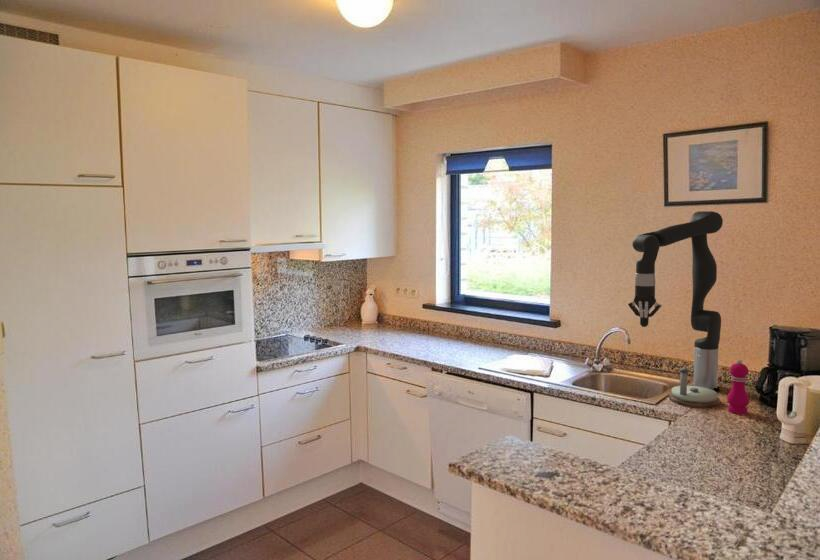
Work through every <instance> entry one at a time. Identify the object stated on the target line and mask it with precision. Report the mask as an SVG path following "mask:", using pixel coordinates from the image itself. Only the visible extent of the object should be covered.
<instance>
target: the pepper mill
mask: <svg viewBox="0 0 820 560" xmlns="http://www.w3.org/2000/svg"><path fill="white" fill-rule="evenodd" d="M729 371H730V372H729V373H730V374H731V376H730V379H731V381H732V386H731V388H730V390H729V392H728V394H727V397H726V400H727V403H728V404H729V405H727V406H728V407H727V410H728V412H729V413H731V414H735V415H746V414H747V413H748V405H749V404H750V397H749V395H748V393H747V390H746V388H745V387H746V382H747V376H748V374H749V368H748V366H747V365H746V364H744V363H743V360H742V359H737V360H736V363H733V364H731V366H730V368H729Z"/></svg>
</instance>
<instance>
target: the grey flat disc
mask: <svg viewBox="0 0 820 560" xmlns="http://www.w3.org/2000/svg"><path fill="white" fill-rule="evenodd" d="M668 395H669V396H668V399H669V401H671V402H672V403H673V404H676V405H680V406H683V407H684V406H685V407H688V408H690V407H691V408H698V409H706V408H707V409H708V408H710V409H711V408H717V407H718V406H719V405H720V398H719V397H718V396H717V400H716V401H714V402H708V403H698V402H689V401H684V400H680V399H677V398H675V397H673V396H672V391H671V392H669V394H668Z"/></svg>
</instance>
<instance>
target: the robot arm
mask: <svg viewBox="0 0 820 560" xmlns="http://www.w3.org/2000/svg"><path fill="white" fill-rule="evenodd" d="M689 221H690V222H684V223H679V224H674V225H670V226H667V227H664V228H660V229H658V230H656V231H649V232H645V233H641V234H638V235H637V236H636V237H634V239H633V240H632V243H631V244H632V247H633V250H635V251H636V252H638V253H643V254H642V257H641V258H639V259H637V260H636V264H635V280H634V281H635V283H634V298H633V301H631V302H629V303H628V306H629V308H630V309H631V310H632V312H633V313H634V315H635V316H636V317H640V318H639V320H640V321H639V324H640V326H641V328H647V327H648V325H649V318H650V317H653V316H654V315H655V314H656V313H657V312H658V311H659V310H660V308H662V304H660V303H658V302H657V299H656V275H655V274H656V273H655V271H656V267H655V265H656V261H657V259H658V258H657V257H658V254H659V251H660V247H661V248H662V247H666V246H670V245H673V244H676V243H679V242H681V241H684V240H687V239H691V250H692V253H691V254H692V266H691V267H692V269H691V270H692V273H691V274H692V275H691V276H692V298H691V299H692V300H691V301H692V302H691V310H690V325H691V327H692V329H693V330H694V331H698V332H704V333H705V332H706V333H707V334H706V336H705V337H702V338H697V339H696V340H694V343H693V344H694V345H693V348H694V349H693V350H694V351H693V353H694V354H693V380H692V382H693V383H692V384H693V385H692V386H698V387H704V388H708V389H711V390H715V389H714V388H716V389H718V375H719V374H718V373H719V372H718V371H719V370H718V369H719V347H720V346H719V345H720V339H721V329H722V316H721V314H720V313H719V312H718V311H717V310H707V309H704V304H705V299H706V297H707V295H708V293H709V292H710V291H711V290H712V289H713V287H714V285H715V284H716V282H717V279H718V278H717V276H718V271H717V269H718V268H717V262H716V260H715V257H714V256H713V254H712V252H711V250H710V247H709V244H708V235H709V234H711V235H712V234H715V233H718V232H719V231H720V230H721V228H722V226H723V222H724V220H723V217H722V215H721V214H720V213H719V212H717V211H716V212H715V211H713V210H712V211H705V210H704V211H696V212H694V213H692V216H691V217H690V220H689ZM652 308H653V309H652ZM651 309H652V311H651Z"/></svg>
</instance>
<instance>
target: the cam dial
mask: <svg viewBox="0 0 820 560" xmlns="http://www.w3.org/2000/svg"><path fill="white" fill-rule="evenodd" d="M688 372H689V369H688V368H679V373H680V376H679V377H680V380H679V385H677V386H673V387H672V388H671V392H672V396H673V397H675V398H677V399H680V400H684V401H689V402H698V403H708V402H714V401H716V400H717V397H718V392H717V391H715V389H708V388H704V387H698V386H693V385H688Z"/></svg>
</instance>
